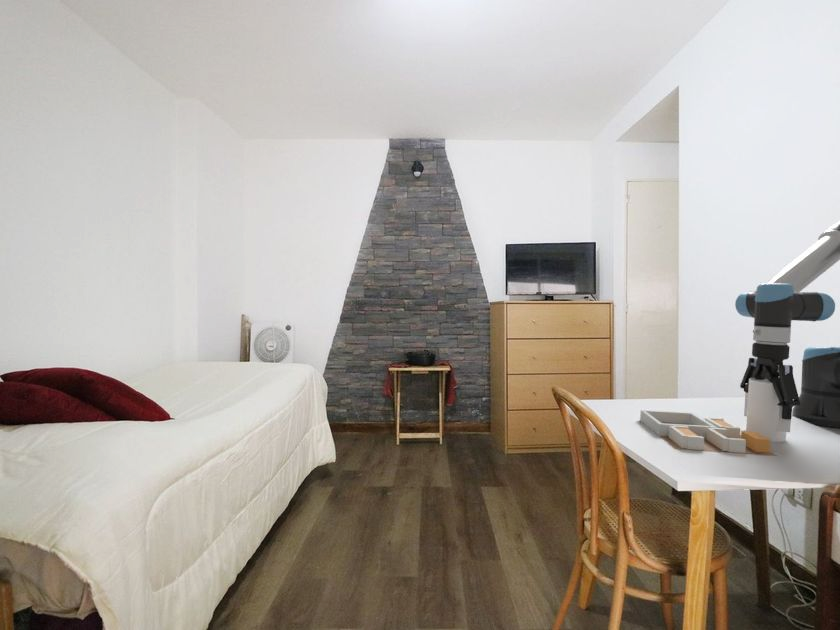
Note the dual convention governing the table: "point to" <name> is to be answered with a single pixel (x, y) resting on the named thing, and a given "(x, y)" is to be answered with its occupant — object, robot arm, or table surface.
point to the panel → (711, 445)
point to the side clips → (693, 441)
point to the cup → (763, 410)
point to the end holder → (662, 429)
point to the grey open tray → (725, 440)
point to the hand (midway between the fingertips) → (765, 423)
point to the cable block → (756, 441)
